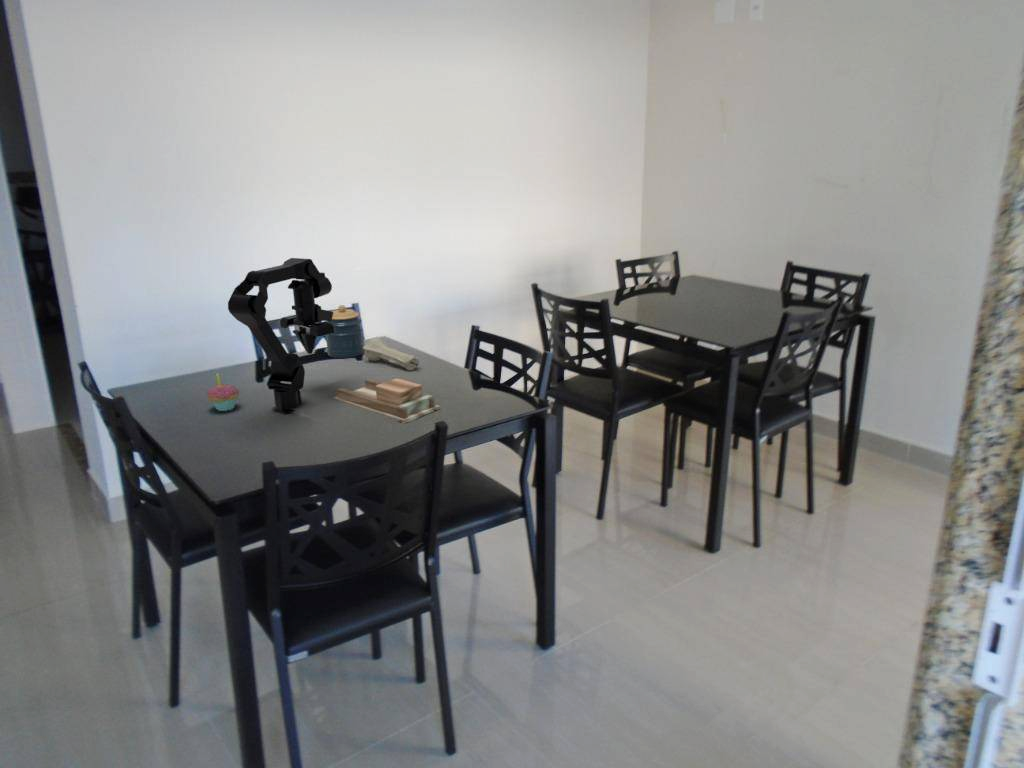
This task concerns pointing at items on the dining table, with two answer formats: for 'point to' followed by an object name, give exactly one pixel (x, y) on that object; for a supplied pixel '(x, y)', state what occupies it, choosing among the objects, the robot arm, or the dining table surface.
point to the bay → (369, 401)
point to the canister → (345, 334)
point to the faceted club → (389, 354)
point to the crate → (398, 391)
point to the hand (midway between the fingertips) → (310, 353)
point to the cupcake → (223, 396)
